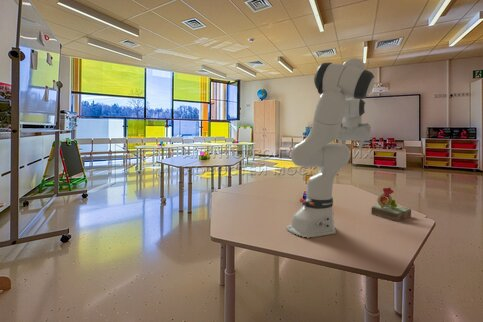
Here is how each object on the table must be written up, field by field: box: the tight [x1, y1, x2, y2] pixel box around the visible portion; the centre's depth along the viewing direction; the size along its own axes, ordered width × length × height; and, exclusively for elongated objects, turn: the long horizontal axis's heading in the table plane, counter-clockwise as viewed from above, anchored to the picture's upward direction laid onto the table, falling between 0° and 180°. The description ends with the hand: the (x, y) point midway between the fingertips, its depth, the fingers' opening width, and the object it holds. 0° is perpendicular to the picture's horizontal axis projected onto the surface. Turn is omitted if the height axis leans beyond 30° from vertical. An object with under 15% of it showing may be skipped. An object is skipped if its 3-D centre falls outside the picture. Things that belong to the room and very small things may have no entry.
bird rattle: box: [376, 187, 398, 208], centre depth 130 cm, size 6×11×9 cm
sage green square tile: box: [370, 203, 412, 222], centre depth 131 cm, size 13×13×4 cm
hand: (352, 148), depth 141 cm, fingers open, 8 cm apart
